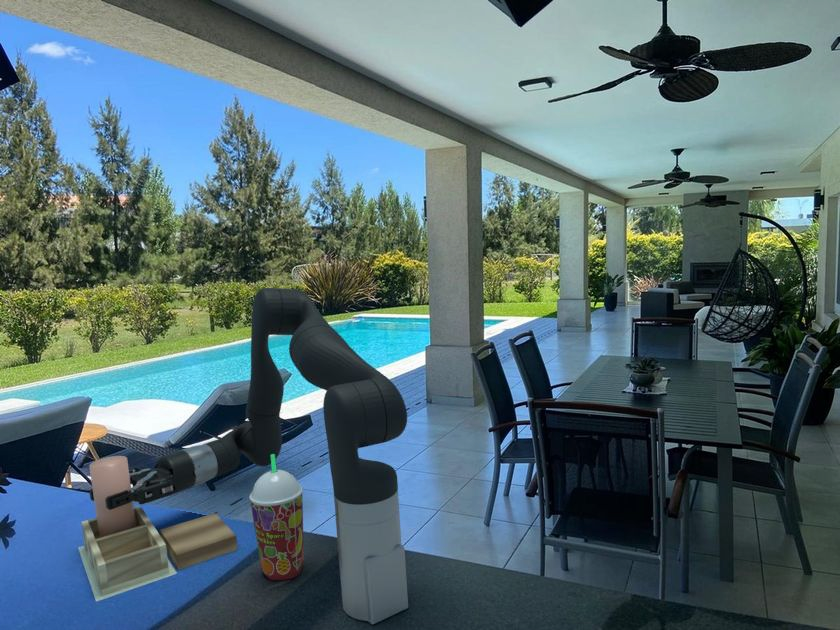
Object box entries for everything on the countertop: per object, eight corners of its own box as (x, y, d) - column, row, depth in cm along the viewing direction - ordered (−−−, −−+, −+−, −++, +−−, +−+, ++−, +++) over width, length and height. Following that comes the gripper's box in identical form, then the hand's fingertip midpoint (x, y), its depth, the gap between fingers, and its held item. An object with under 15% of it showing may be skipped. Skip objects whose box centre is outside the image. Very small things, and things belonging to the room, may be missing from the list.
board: (237, 551, 108) (236, 535, 108) (178, 572, 103) (176, 555, 102) (216, 527, 118) (215, 512, 118) (161, 545, 112) (160, 529, 112)
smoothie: (246, 580, 99) (234, 460, 96) (280, 555, 106) (270, 443, 104) (287, 591, 95) (275, 467, 92) (319, 564, 102) (309, 449, 100)
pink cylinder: (139, 537, 110) (130, 462, 108) (102, 548, 106) (91, 471, 105) (133, 525, 115) (123, 453, 113) (97, 536, 111) (87, 461, 110)
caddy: (169, 573, 102) (165, 544, 101) (102, 596, 96) (98, 566, 95) (143, 530, 118) (140, 505, 117) (84, 547, 112) (81, 521, 112)
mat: (177, 575, 102) (177, 573, 101) (96, 603, 95) (96, 601, 95) (148, 528, 119) (147, 526, 119) (78, 549, 113) (78, 547, 113)
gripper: (166, 443, 125) (78, 471, 112) (205, 456, 115) (114, 488, 103) (170, 479, 125) (84, 510, 113) (209, 494, 116) (120, 530, 104)
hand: (98, 499), depth 108 cm, fingers closed on pink cylinder, 6 cm apart
